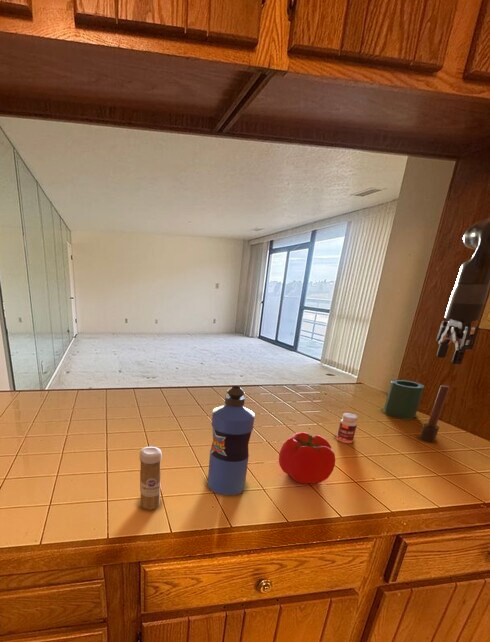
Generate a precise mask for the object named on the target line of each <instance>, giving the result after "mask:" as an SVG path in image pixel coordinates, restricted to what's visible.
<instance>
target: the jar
mask: <svg viewBox="0 0 490 642" xmlns="http://www.w3.org/2000/svg"><path fill="white" fill-rule="evenodd" d="M425 388H426V387H425V384H422V383H420V382H416V381H413V380H412V381H411V380H407V379H405V380H404V379H393V380H391V381H390V385H389V389H388V393H387V396H386V399H385V403H384V406H383V410H382V411H383V413H384V414H385V415H388V416H390V417H393V418H397V419H403V420H405V419H406V420H412V419H415V417H416V415H417V412H418V409H419V406H420V403H421V399H422V397H423V393H424V391H425Z"/></svg>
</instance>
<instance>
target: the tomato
mask: <svg viewBox="0 0 490 642" xmlns="http://www.w3.org/2000/svg"><path fill="white" fill-rule="evenodd" d="M278 453H279V454H278V465H279V467H280V469H281V470H282V471H283V473H285V474H286V475H288V476H290V477H291V478H292V479H293V480H294V481H296V482H297V483H300V484H304V485H308V484H319V483H322V482H324V481H326V480H328V479H329V477H330V476H331V475H332V473H333V471H334V469H335V466H336V455H335V452H334V451H333V449H332V445H331V444H330V443H329V442H328V440H327V439H326V438H325V437H323V436H322V435H319V434H315V435H313V434H309V433H308V432H303V431H301V432H295V433H294V434H293V435H291V436H290V437H289V438H288V439H286V440H285V441H284V442H283V444H282V445H281V448H280V450H279V452H278Z"/></svg>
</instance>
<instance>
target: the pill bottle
mask: <svg viewBox="0 0 490 642" xmlns="http://www.w3.org/2000/svg"><path fill="white" fill-rule="evenodd" d="M358 418H359V417H358V415H357V414H353V413H348V412H345V413H343V414H342V419H340V421H339V425H338V429H337V434H336V440H337V441H339V442H341V443H345V444H351V443H353V442H354V439H355V434H356V431H357V427H358V422H357V421H358Z"/></svg>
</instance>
